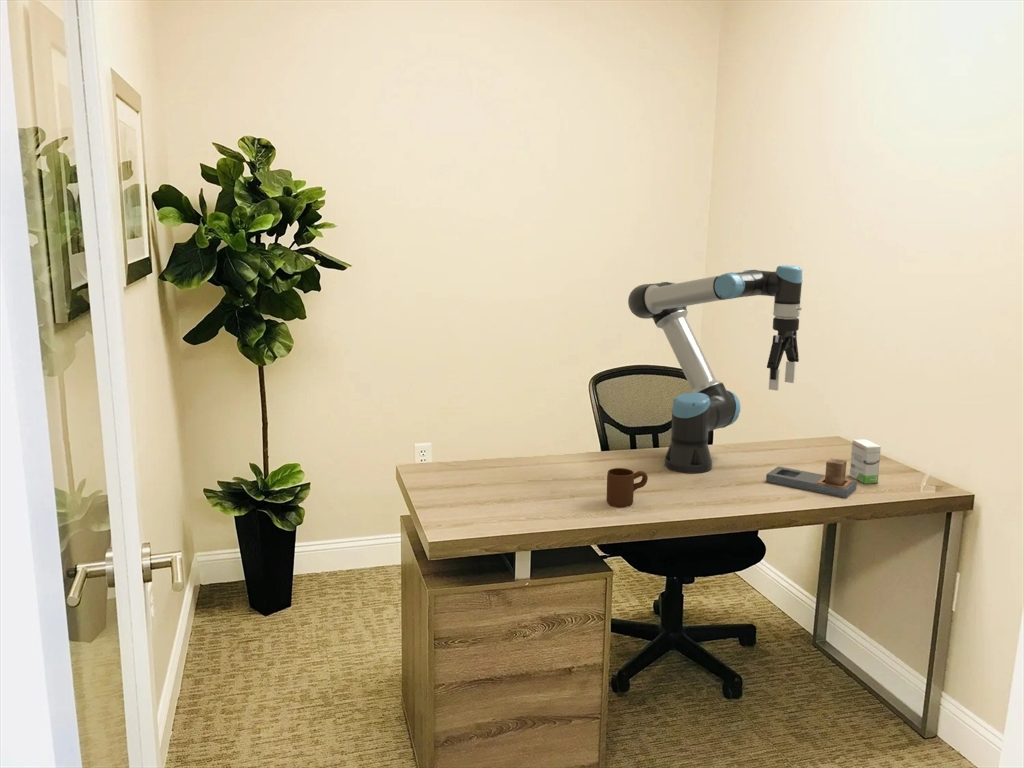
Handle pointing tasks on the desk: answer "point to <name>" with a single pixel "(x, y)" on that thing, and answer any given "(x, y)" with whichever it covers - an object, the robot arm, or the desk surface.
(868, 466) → the ink box
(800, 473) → the grey socket board
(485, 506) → the desk surface
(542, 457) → the desk surface
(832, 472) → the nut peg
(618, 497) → the mug
